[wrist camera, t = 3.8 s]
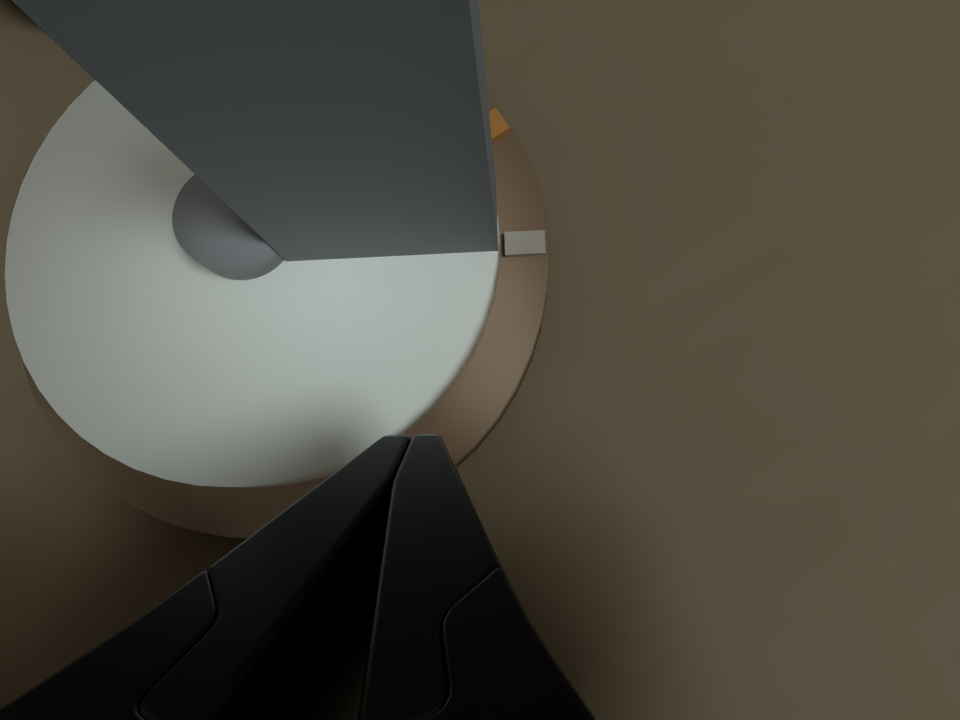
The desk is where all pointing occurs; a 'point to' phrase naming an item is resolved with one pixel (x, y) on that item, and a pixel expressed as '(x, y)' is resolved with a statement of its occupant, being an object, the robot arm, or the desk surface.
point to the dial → (256, 230)
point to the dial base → (454, 419)
